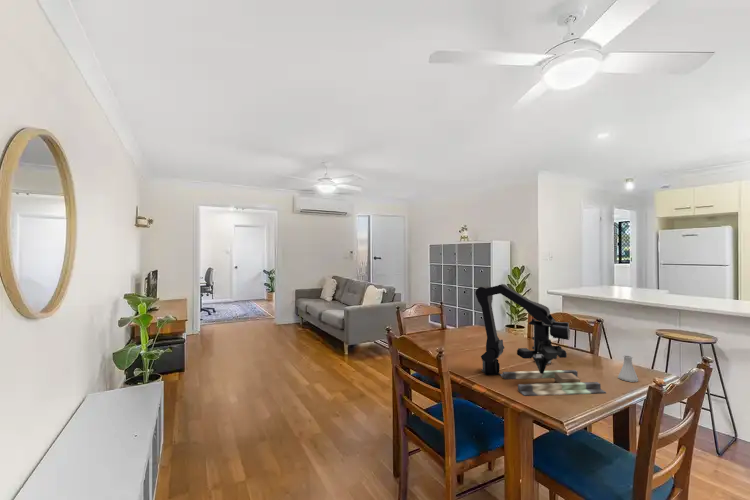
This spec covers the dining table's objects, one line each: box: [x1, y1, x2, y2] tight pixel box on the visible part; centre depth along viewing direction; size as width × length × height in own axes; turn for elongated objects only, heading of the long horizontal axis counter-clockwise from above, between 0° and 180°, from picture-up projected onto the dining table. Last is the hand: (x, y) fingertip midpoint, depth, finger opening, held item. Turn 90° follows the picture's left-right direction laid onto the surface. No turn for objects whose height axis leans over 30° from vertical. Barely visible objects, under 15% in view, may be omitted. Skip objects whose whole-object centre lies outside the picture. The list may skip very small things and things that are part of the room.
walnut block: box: [554, 373, 581, 383], centre depth 142 cm, size 7×7×4 cm
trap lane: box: [499, 369, 607, 397], centre depth 143 cm, size 33×22×2 cm, turn 94°
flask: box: [617, 354, 639, 383], centre depth 148 cm, size 7×7×10 cm
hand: (541, 373), depth 143 cm, fingers closed
